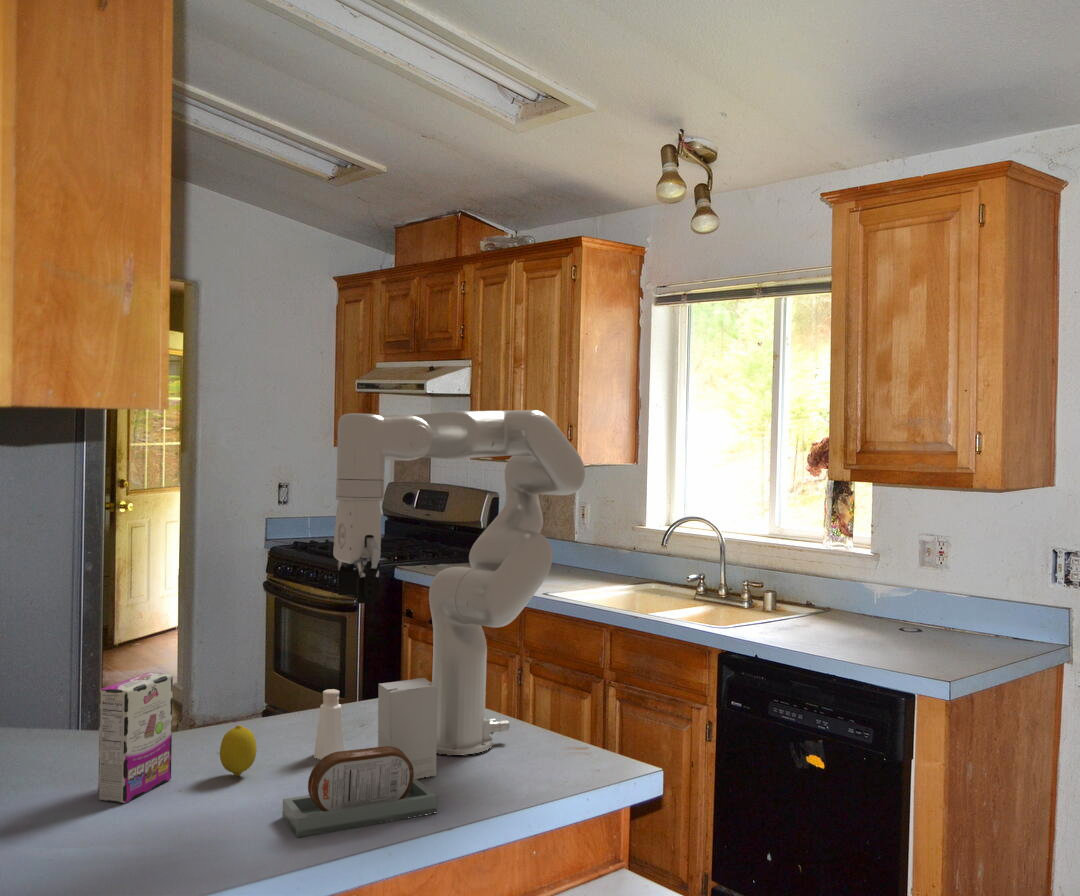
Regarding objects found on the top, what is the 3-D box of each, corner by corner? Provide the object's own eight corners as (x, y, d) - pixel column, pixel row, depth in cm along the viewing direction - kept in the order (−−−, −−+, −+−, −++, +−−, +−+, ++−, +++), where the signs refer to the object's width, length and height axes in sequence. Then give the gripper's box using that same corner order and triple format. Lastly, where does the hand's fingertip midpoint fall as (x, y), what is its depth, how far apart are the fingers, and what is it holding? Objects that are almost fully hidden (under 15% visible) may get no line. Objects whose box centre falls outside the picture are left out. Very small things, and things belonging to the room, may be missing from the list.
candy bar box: (143, 776, 148) (147, 671, 148) (172, 779, 146) (175, 673, 147) (94, 801, 137) (98, 687, 137) (124, 805, 136) (128, 690, 136)
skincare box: (423, 766, 156) (425, 676, 156) (437, 777, 151) (440, 684, 151) (374, 773, 152) (377, 681, 152) (387, 785, 146) (390, 689, 147)
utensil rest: (415, 795, 142) (416, 778, 142) (436, 813, 135) (437, 795, 135) (282, 817, 132) (282, 799, 133) (297, 837, 126) (298, 818, 126)
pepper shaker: (307, 759, 158) (309, 693, 158) (320, 749, 163) (322, 686, 164) (338, 761, 157) (340, 695, 157) (350, 752, 162) (352, 688, 163)
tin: (407, 798, 139) (409, 740, 139) (415, 805, 136) (417, 746, 136) (306, 814, 132) (308, 753, 132) (312, 822, 129) (314, 760, 129)
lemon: (242, 767, 153) (244, 718, 153) (262, 775, 149) (264, 725, 149) (211, 776, 149) (213, 725, 149) (231, 784, 145) (233, 732, 145)
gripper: (321, 488, 156) (318, 592, 156) (354, 493, 141) (351, 607, 141) (364, 489, 160) (361, 590, 160) (402, 493, 145) (398, 605, 145)
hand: (356, 598), depth 150 cm, fingers open, 9 cm apart
